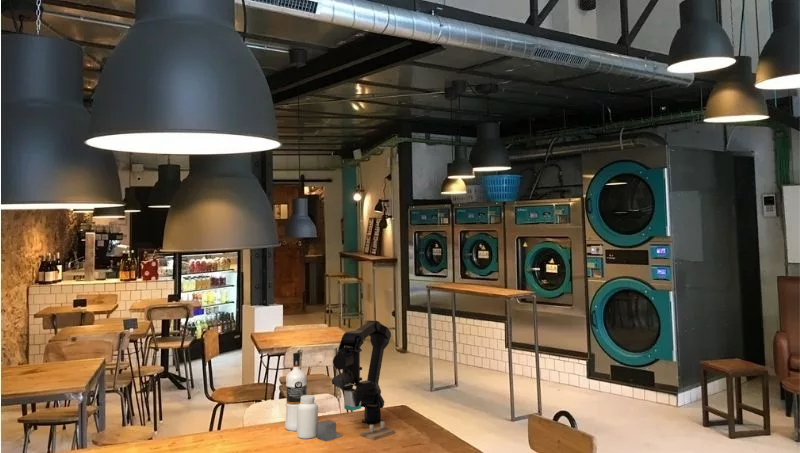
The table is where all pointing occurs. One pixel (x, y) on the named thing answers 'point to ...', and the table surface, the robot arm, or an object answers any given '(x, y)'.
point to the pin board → (377, 432)
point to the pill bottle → (307, 417)
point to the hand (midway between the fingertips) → (352, 405)
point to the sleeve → (350, 400)
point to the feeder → (327, 430)
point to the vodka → (294, 392)
